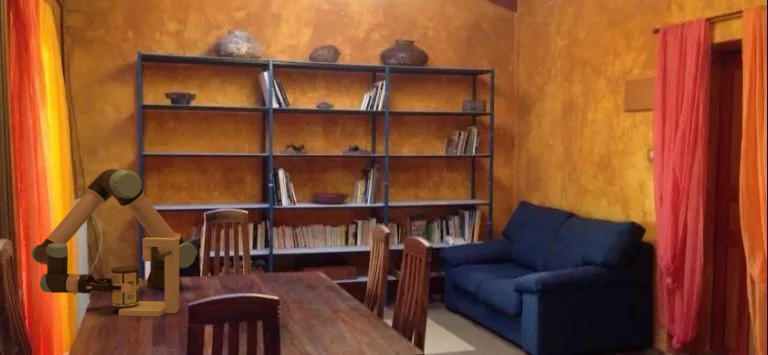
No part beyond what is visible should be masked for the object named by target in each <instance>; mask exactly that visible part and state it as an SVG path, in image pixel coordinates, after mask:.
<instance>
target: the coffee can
mask: <svg viewBox="0 0 768 355" xmlns="http://www.w3.org/2000/svg"><path fill="white" fill-rule="evenodd" d="M139 270H140V268H139V267H138V266H134V265H128V266H125V265H124V266H117V267H116V266H115V267H112V268H111V270H110V271H111V278H112V285H113V284H131V291H113V293H111V305H112V306H114V307H126V306H132V305H136V304H138V303H139V301H140V300H139V298H140V296H139V294H140V286H139V279H140V278H139V275H140V274H139V273H140V272H139Z"/></svg>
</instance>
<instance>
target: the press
mask: <svg viewBox="0 0 768 355" xmlns="http://www.w3.org/2000/svg"><path fill="white" fill-rule="evenodd" d="M141 240H142V261H143V262H145V263H146V262H150V261H151V247H165V252H160V253H159V254H158V257H159V258H160V259H164V258H165V289H164V301H152V300H151V301H150V300H149V301H144V300H143V301H142V300H139V303H138V304H136V305H132V306H123V307H122V308H120V309H118V316H126V317H127V316H131V317H132V316H135V317H161V316H162V315H164V314H176V313H177V312H179V311H180V286H179V278H180V268H179V238H152V237H144V238H142V239H141Z"/></svg>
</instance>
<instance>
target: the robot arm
mask: <svg viewBox="0 0 768 355" xmlns="http://www.w3.org/2000/svg"><path fill="white" fill-rule="evenodd" d="M144 193H145V189H144V187H143V186H142V179H141V178H140V176H139V175H138V174H137V173H136V172H135V171H132V170H129V169H116V168H115V169H114V168H110V169H106V170H104V171H102V172H101V173H99V174H98V175H97V176H96V177H95V178H94V179H93V181H92V182H91V183H90V184H89V185H88V186H87V187H86V189H85V193H84V195H82V197H81V198H80V200H78V201H77V203H76V204H75V205H74V206H73V207H72V208H71V210H70V211H69V212H68V213H67V214H66V215H65V217H64V218H63V219H62V220H61V221H60V222H59V223H58V225H57V226H56V227H55V228H54V229H53V231H52V232H51V233H50V234H49V235H48V236H47V238H45V240H44V241H43V242H42V243H41V244H37V245H35V246H34V247H33V248H32V250H31V257H32V259H33V260H34V261H36V262H37V263H38V264H42V265H46V273H44V274H43V275H41V277H40V282H39V287H40V289H41V291H43V292H45V293H53V294H56V293H58V294H63V293H65V294H72V295H77V294H89V295H90V294H91V293H92V292H104V293H109V294H112V293H113V291H131V284H113V285H112V277H100V278H95V277H94V275H93V274H90V273H89V274H85V273H83V274H81V273H69V272H68V270H69V268H68V267H69V263H68V262H69V251H68V243H69V241H70V240H72V238H73V237H74V236H75V235H76V233H77V232H78V231H79V230H80V229H81V227H82V226H83V225H84V224H85V223H86V222H87V220H88V219H89V218H90V217H91V216H92V215H93V214H94V213H95V211H96V210H97V209H98V207H100V205H102V204H105V203H106V202H107V201H108V200H109V199H111V198H112V197H113V198H114V199H115V200H116V201H117V203H118V204H119V205H120V206H121V207H126V208H127V209H128V210H129V211H130V212H131V213H132V215H133V217H135V218H136V220H137V221H138V222H139V224H140V225H141V226H142V227H143V228H144V229H145V231H146V232H147V233H148V234H149V235H150V238H179V269H186V268H189V267H190V266H191V265H192V264H193V263H194V261H195V260H196V256H197V251H196V247H195V246H194V245H193V244H192V243H191V242H188V241H186V240H185V239H184V237H183V236H182V235H181V234H180V233H177V232H174V231H173V229H172V228H171V227H170V226H169V224H168V223H167V222H166V221H165V219H164V218H163V217H162V215H161V214H160V213H159V212H158V211H157V209H156V208H155V207H154V206H153V204H152V202H150V201H149V199H148V198H147V196H146V195H145V194H144ZM160 252H165V247H151V261H149V263H150V264H149V265H150V267H149V268H150V270H149V273H148V276H147V279H146V285H145V286H146V288H149V289H158V290H160V289H161V290H163V289H164V290H165V258H164V259H160V258H159V257H158V254H159V253H160ZM142 285H143V278H139V287H142ZM180 286H181V278H180V277H179V287H180Z"/></svg>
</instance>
